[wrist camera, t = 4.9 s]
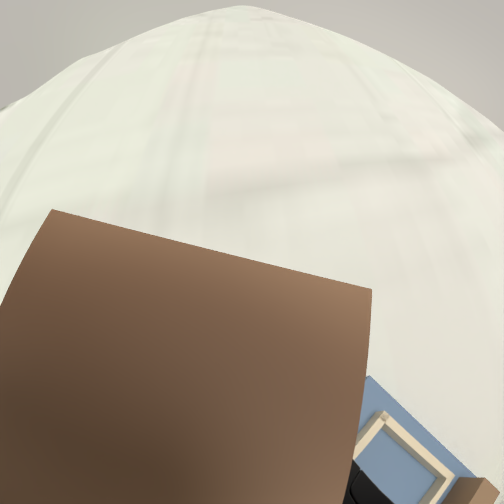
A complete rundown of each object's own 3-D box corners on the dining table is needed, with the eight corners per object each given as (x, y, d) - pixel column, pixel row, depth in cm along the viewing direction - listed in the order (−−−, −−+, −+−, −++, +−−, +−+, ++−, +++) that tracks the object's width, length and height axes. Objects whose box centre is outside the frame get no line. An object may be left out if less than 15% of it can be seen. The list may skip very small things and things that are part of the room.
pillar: (236, 482, 12) (299, 622, 1) (134, 453, 12) (-45, 490, 2) (258, 389, 14) (371, 288, 4) (160, 362, 14) (51, 208, 4)
